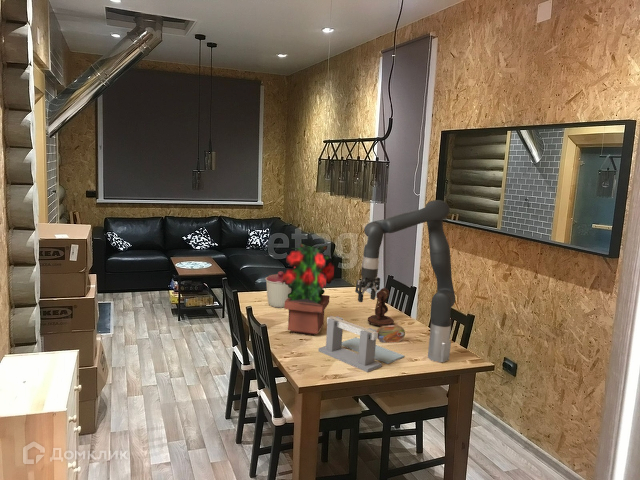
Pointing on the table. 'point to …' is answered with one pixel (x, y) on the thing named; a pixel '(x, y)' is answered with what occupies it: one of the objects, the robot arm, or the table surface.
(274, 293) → the canister
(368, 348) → the rack
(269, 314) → the table surface
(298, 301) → the potted plant
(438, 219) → the robot arm
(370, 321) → the brown statuette
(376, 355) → the mat
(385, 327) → the tin
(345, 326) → the steel bar
